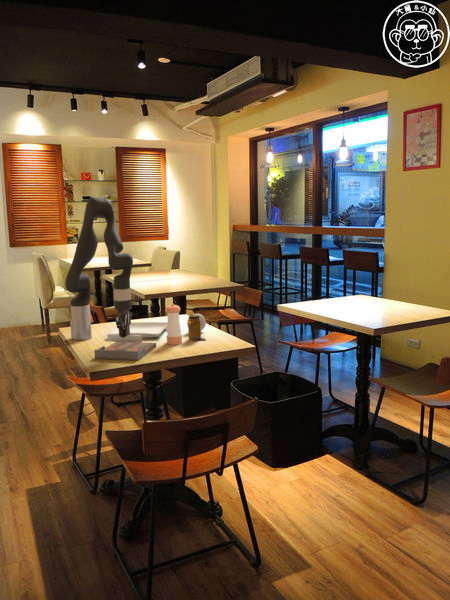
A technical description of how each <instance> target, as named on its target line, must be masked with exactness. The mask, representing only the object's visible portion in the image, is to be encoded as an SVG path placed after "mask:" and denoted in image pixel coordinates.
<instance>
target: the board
mask: <svg viewBox="0 0 450 600" xmlns="http://www.w3.org/2000/svg"><path fill="white" fill-rule="evenodd" d="M143 347H144V348H145V356H146V355H147V354H149V353H150V352H152V351H153V350H154V349H156V348H157V342H143V341H142V342H141V343H136V342H112V344H110V345H108V346H107V347H106V346H105V349H106V348H118V350H122V351H125V350H127V349H128V348H134V349H139V350H141V349H142V348H143Z"/></svg>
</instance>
